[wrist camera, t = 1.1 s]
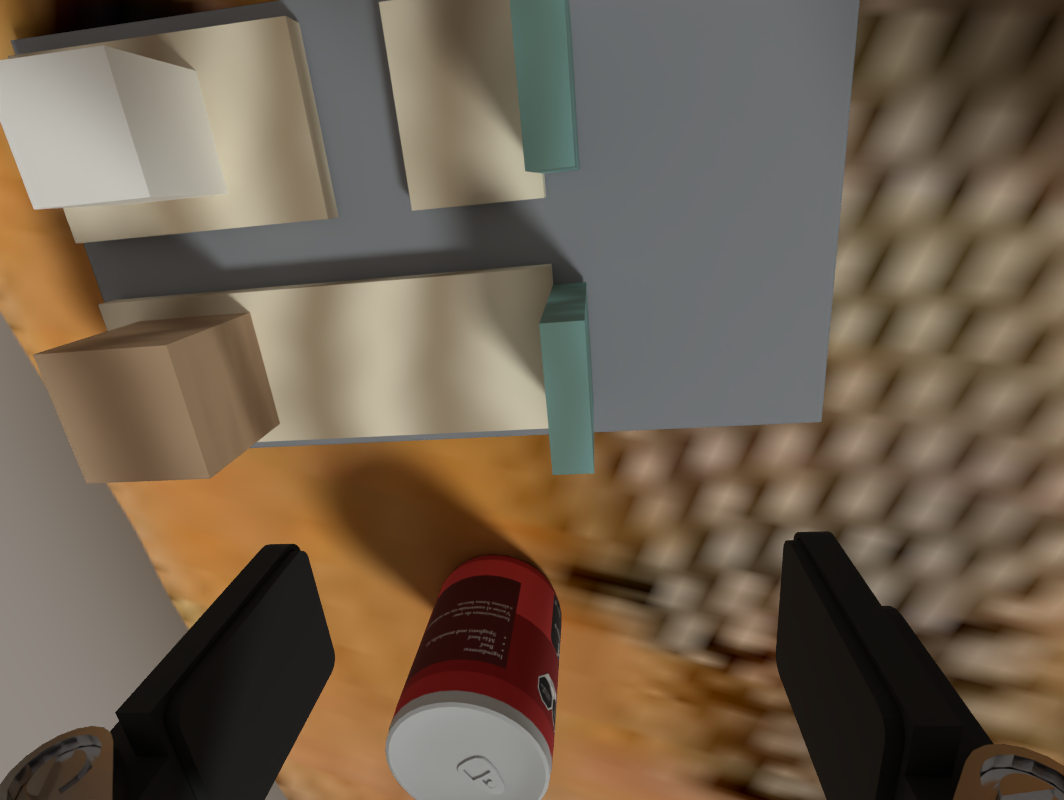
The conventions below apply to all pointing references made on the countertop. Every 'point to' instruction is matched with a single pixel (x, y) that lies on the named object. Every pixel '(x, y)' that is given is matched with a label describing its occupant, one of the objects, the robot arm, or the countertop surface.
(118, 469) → the cube
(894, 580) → the countertop surface
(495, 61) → the broken strip
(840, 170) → the mat
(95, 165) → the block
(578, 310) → the strip
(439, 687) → the canned food
